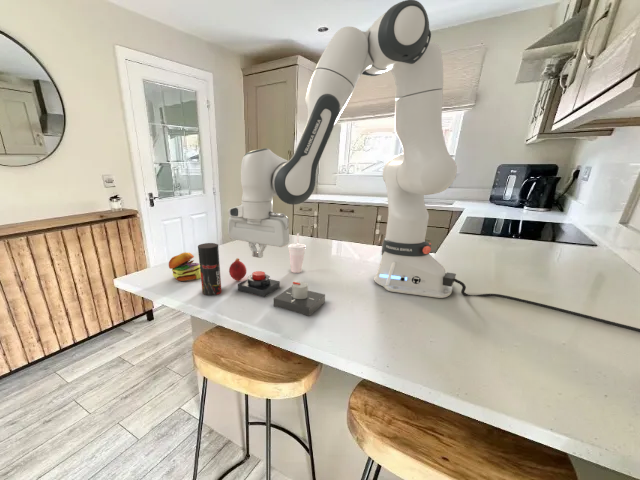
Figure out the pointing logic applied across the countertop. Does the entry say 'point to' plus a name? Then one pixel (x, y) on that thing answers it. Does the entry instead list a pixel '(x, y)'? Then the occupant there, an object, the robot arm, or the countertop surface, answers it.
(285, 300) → the hob panel
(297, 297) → the hob knob
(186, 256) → the cheeseburger
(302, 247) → the smoothie
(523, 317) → the countertop surface
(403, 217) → the robot arm
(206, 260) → the deodorant
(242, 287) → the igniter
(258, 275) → the button
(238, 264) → the onion
